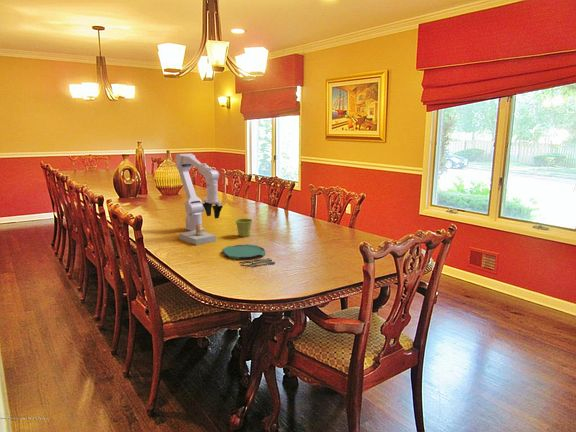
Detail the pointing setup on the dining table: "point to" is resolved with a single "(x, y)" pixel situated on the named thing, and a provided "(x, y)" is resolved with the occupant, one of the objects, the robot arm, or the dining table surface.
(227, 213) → the dining table surface
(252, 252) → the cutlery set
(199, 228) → the dowel
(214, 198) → the robot arm
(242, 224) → the plant pot
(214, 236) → the hole board
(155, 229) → the dining table surface
